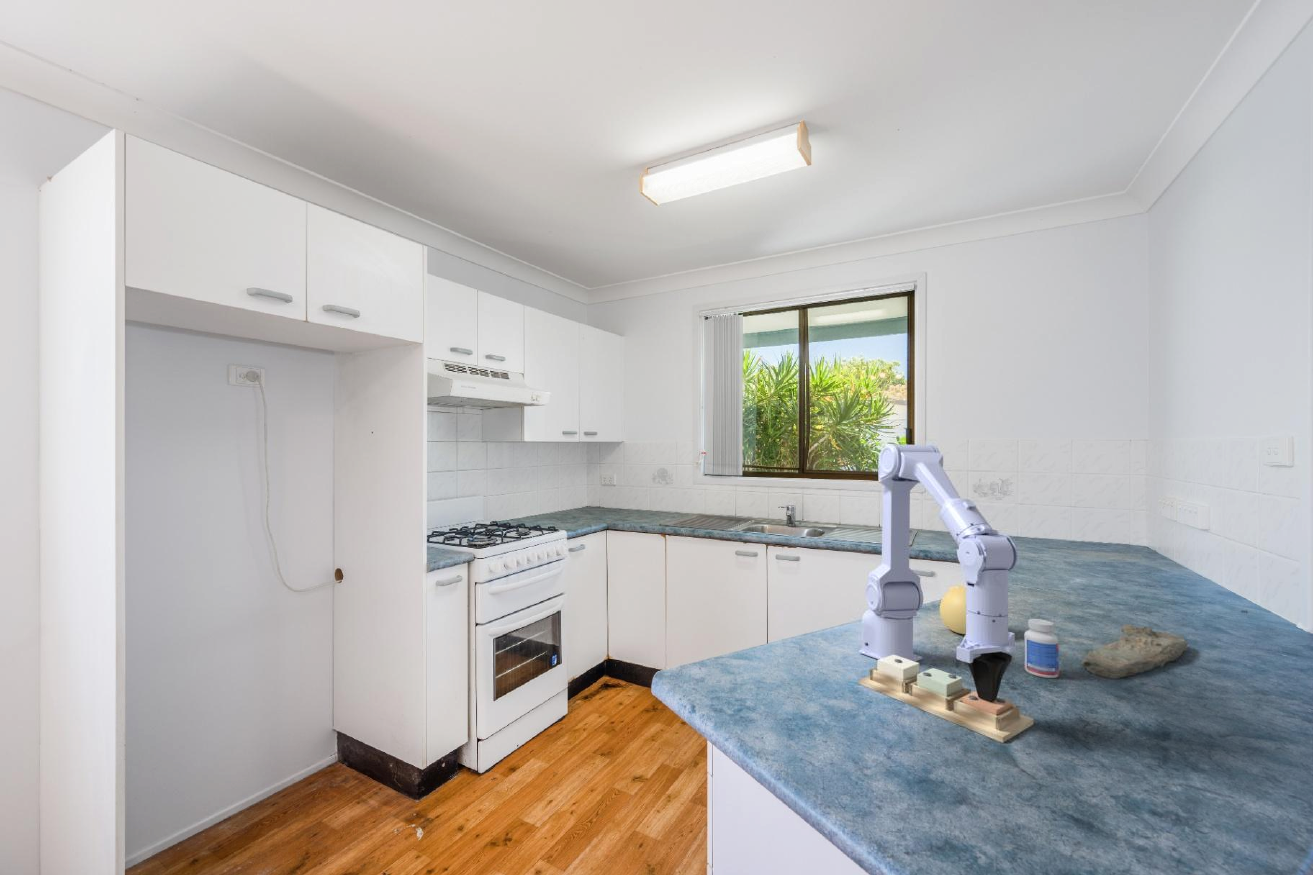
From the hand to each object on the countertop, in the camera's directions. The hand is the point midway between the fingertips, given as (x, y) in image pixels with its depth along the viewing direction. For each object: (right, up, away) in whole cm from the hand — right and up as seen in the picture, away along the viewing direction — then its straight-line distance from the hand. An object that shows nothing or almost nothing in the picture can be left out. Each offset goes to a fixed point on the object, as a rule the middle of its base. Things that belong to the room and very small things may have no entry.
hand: (986, 698), depth 86 cm
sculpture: (+21, -5, +43) cm, 48 cm away
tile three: (0, -3, 0) cm, 3 cm away
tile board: (-4, -4, +6) cm, 8 cm away
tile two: (-4, -2, +6) cm, 8 cm away
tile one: (-8, -2, +12) cm, 15 cm away
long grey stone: (+47, -5, +27) cm, 54 cm away
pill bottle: (+22, -4, +19) cm, 29 cm away
